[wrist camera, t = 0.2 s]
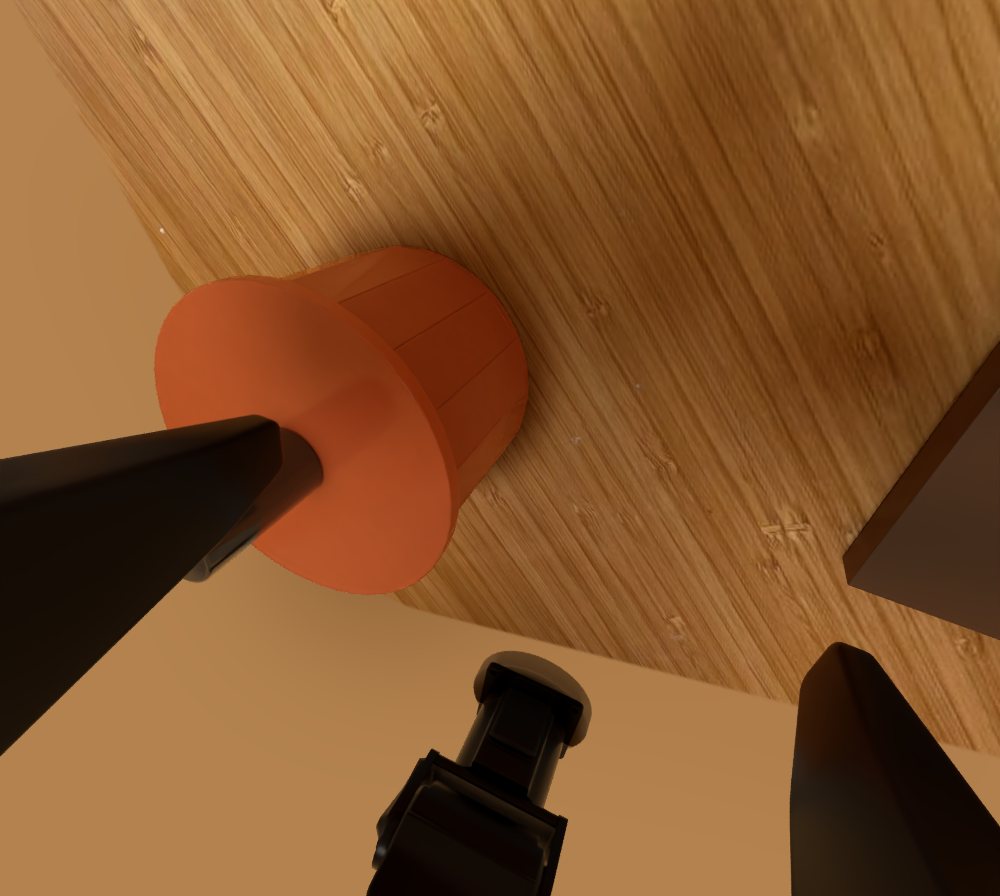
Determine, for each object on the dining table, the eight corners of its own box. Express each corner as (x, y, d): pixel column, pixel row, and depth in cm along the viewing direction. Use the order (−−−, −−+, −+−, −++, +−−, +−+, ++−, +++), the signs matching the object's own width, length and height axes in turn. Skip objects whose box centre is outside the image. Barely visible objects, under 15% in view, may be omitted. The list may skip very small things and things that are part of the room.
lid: (450, 616, 20) (362, 760, 15) (213, 508, 23) (78, 603, 18) (492, 331, 13) (360, 435, 9) (152, 229, 16) (-79, 269, 12)
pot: (508, 499, 25) (432, 614, 19) (325, 429, 28) (208, 512, 22) (552, 282, 19) (462, 352, 13) (315, 218, 22) (151, 253, 16)
